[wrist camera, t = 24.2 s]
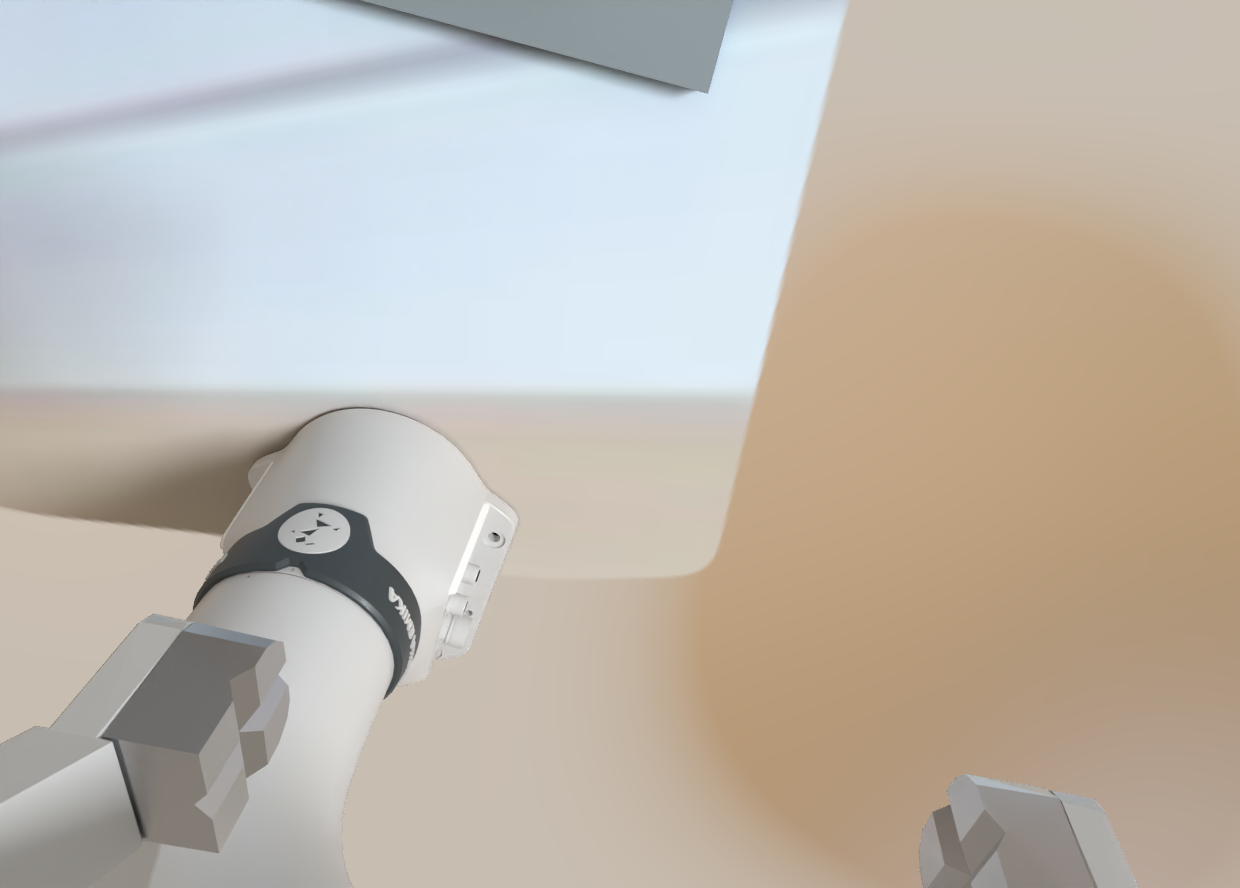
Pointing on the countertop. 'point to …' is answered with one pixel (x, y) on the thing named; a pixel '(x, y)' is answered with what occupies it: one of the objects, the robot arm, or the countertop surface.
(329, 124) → the countertop surface
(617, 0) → the lid
